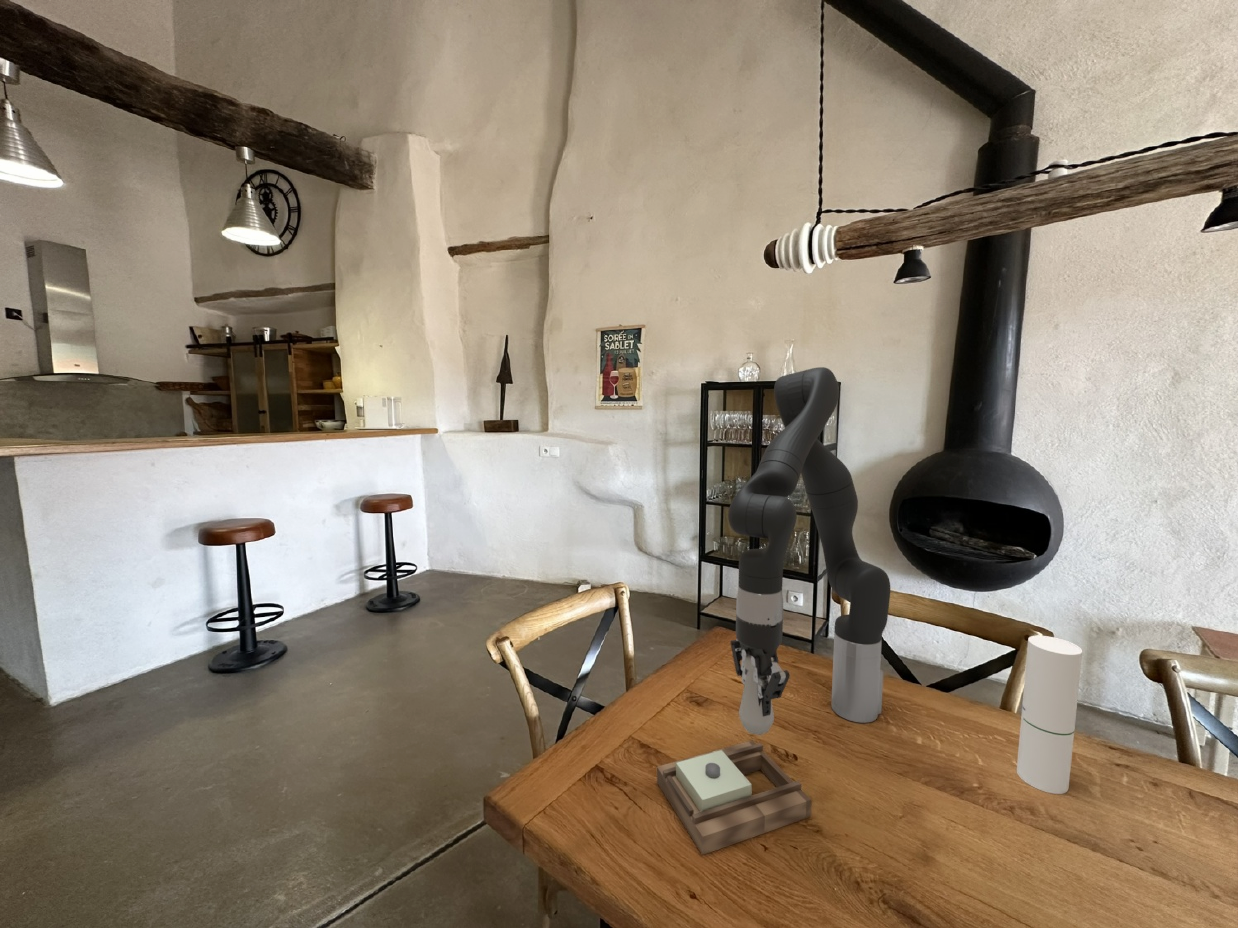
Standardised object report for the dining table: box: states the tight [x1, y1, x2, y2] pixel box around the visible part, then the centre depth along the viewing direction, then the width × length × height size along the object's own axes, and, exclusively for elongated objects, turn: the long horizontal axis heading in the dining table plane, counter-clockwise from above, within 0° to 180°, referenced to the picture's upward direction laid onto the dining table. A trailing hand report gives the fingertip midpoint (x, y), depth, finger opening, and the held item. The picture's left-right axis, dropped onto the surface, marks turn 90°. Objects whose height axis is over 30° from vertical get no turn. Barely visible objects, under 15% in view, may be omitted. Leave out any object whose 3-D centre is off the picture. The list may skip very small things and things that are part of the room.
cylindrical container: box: [1016, 635, 1083, 795], centre depth 91 cm, size 7×7×25 cm
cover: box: [676, 750, 753, 812], centre depth 86 cm, size 9×9×4 cm
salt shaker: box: [738, 655, 775, 736], centre depth 88 cm, size 6×6×13 cm
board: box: [656, 740, 812, 856], centre depth 88 cm, size 20×16×4 cm
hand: (756, 709), depth 88 cm, fingers closed on salt shaker, 3 cm apart
